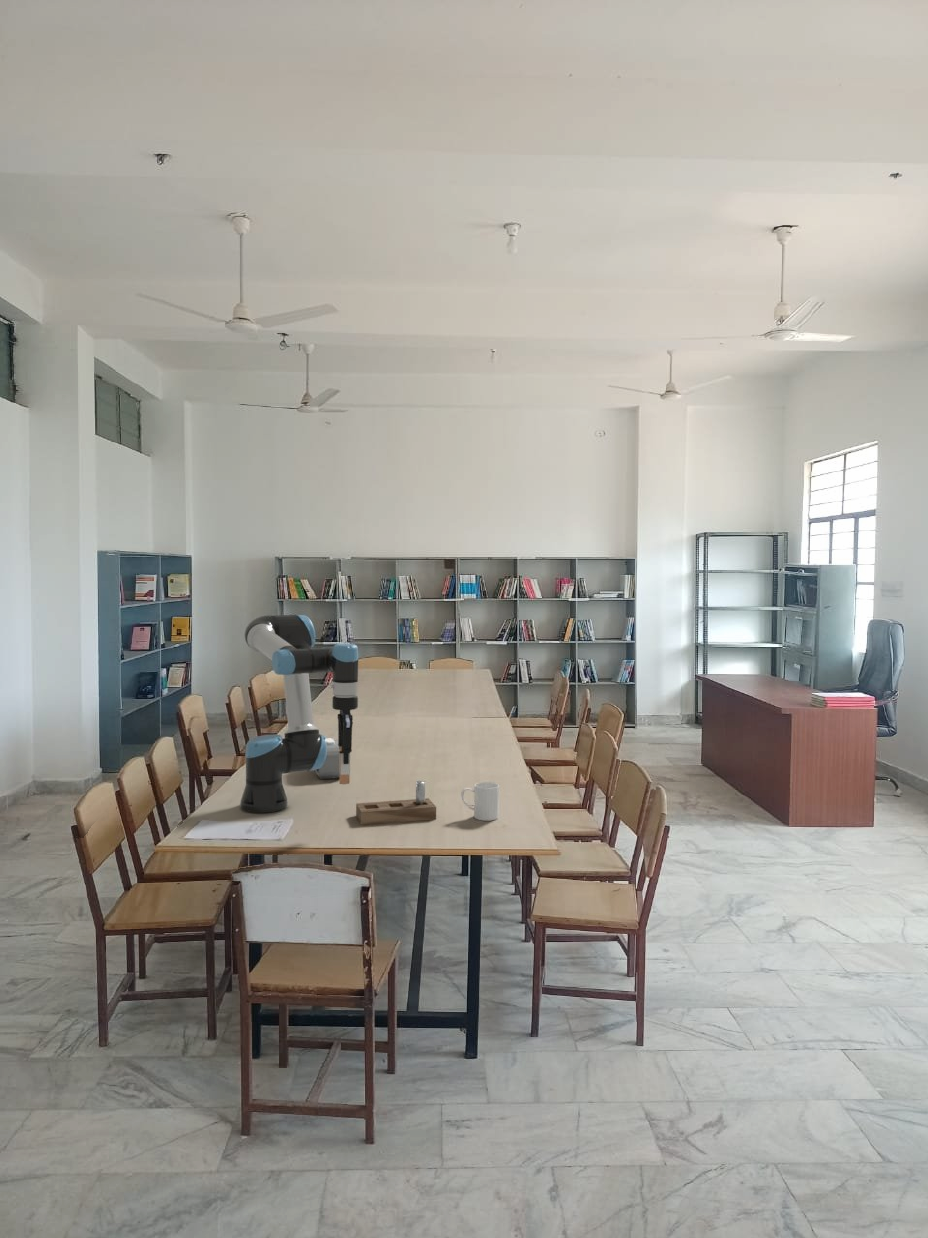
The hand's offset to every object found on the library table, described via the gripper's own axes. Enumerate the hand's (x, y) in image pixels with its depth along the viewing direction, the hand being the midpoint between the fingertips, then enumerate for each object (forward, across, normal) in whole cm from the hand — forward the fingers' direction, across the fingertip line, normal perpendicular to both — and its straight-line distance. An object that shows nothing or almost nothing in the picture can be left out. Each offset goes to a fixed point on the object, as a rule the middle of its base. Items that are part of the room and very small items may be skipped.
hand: (344, 772), depth 248 cm
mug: (+18, -3, +44) cm, 48 cm away
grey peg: (+18, -10, +26) cm, 33 cm away
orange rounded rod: (+3, 0, 0) cm, 3 cm away
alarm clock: (+19, -70, +4) cm, 72 cm away
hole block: (+18, -10, +18) cm, 27 cm away
